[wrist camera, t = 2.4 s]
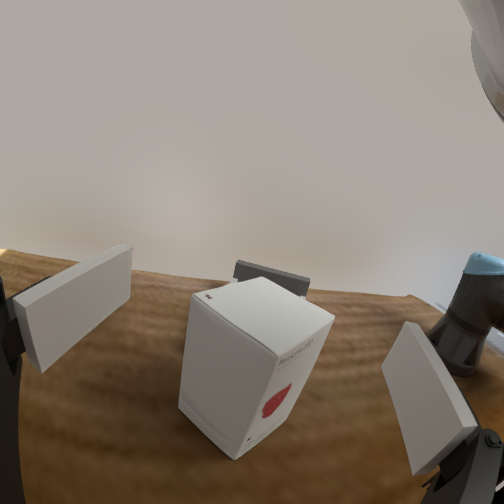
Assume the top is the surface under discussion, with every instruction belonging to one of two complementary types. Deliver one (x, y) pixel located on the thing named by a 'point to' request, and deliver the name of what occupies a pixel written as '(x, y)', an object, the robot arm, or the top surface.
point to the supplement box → (247, 360)
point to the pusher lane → (271, 277)
